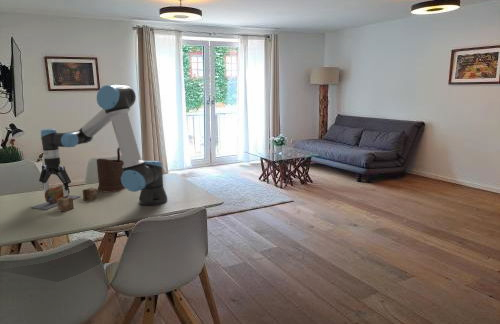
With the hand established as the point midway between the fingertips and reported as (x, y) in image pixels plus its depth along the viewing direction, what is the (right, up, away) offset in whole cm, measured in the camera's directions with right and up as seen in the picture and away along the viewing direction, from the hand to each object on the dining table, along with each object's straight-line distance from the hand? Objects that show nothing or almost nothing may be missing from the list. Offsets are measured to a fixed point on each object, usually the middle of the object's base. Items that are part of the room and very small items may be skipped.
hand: (56, 194), depth 201 cm
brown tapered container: (+21, +2, +33) cm, 39 cm away
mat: (0, -4, +1) cm, 4 cm away
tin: (0, -4, +2) cm, 4 cm away
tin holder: (+14, -5, -3) cm, 15 cm away
